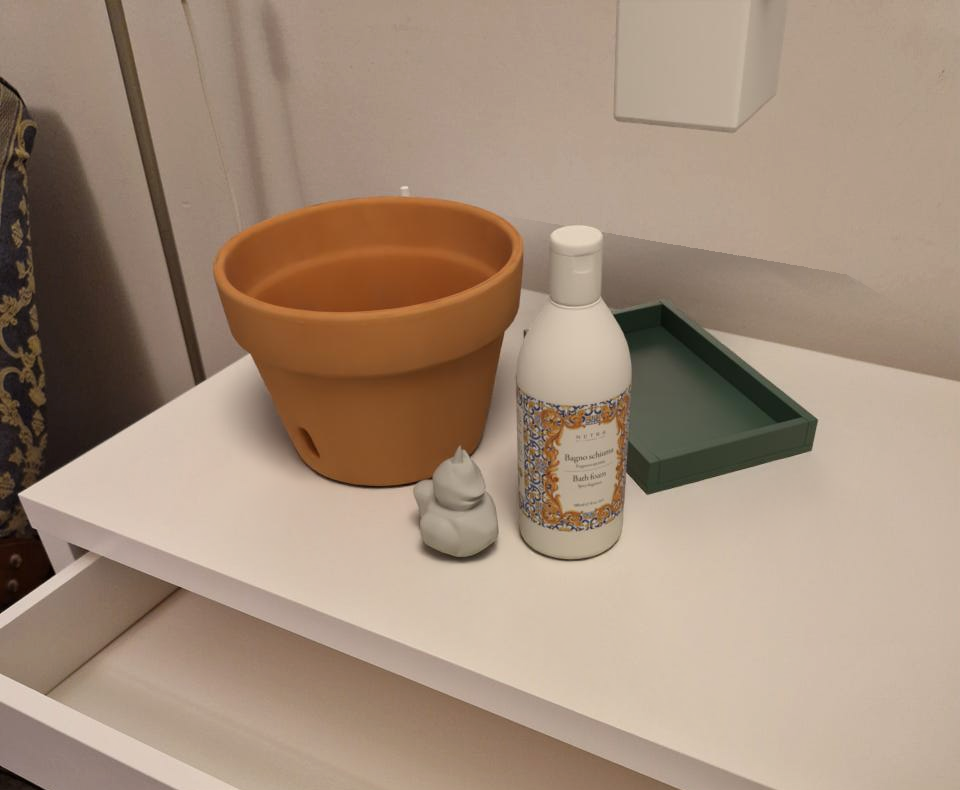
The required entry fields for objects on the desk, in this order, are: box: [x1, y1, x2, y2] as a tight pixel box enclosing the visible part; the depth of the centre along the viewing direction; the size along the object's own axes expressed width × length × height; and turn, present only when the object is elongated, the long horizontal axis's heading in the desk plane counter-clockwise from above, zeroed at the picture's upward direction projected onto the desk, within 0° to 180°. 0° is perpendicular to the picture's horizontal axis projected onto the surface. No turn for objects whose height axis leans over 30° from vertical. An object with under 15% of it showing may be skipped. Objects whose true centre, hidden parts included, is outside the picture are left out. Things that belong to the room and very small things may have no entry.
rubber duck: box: [412, 446, 500, 558], centre depth 65 cm, size 5×7×8 cm
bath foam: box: [515, 224, 632, 560], centre depth 61 cm, size 7×7×20 cm
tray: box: [523, 298, 819, 495], centre depth 79 cm, size 14×23×3 cm, turn 21°
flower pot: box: [212, 195, 525, 487], centre depth 73 cm, size 21×21×15 cm
